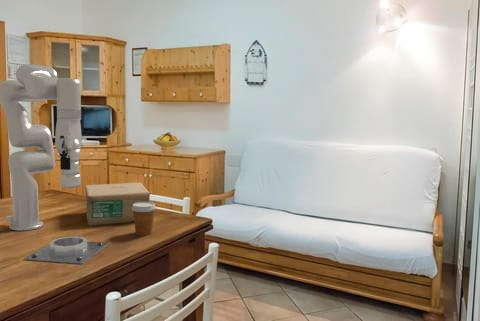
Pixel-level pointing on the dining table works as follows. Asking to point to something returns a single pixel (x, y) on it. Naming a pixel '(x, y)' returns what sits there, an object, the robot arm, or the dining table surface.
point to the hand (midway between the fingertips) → (70, 167)
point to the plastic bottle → (72, 168)
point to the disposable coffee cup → (143, 217)
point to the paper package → (113, 202)
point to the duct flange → (67, 250)
